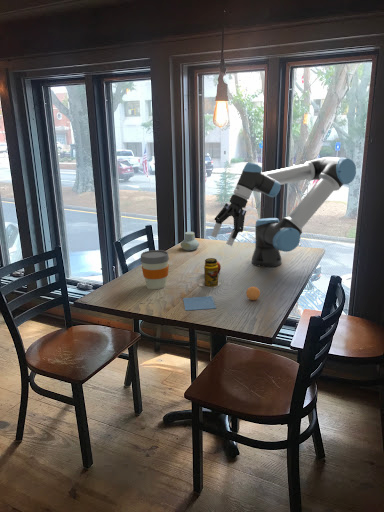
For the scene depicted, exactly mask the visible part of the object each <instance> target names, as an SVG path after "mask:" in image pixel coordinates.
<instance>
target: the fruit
mask: <svg viewBox="0 0 384 512" xmlns="http://www.w3.org/2000/svg"><path fill="white" fill-rule="evenodd" d="M217 265H218V275H219V274H220V273H221V268H222V267H221V263H220V262H219V261H218V260H217Z"/></svg>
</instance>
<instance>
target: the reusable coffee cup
mask: <svg viewBox="0 0 384 512" xmlns="http://www.w3.org/2000/svg"><path fill="white" fill-rule="evenodd" d="M169 260H170V257H169V253H168V251H166V250H162V249H154V250H153V249H151V250H145V251H143V252H141V253H140V262H141V265H142V266H141V270H142V275H143V277H144V280H145V284H146V289H147V288H148V289H150V290H160V289H164V288H165V287H166V286H167V278H168V275H169V266H170V265H169Z"/></svg>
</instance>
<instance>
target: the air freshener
mask: <svg viewBox="0 0 384 512" xmlns="http://www.w3.org/2000/svg"><path fill="white" fill-rule="evenodd" d="M199 246H200V241H198V240H197V239H196V236H195V232H194V231H186V232H184V239H183V240H182V241H181V242H180V248H182V249H183V250H185V251H195V250H196V249H198V248H199Z"/></svg>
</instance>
